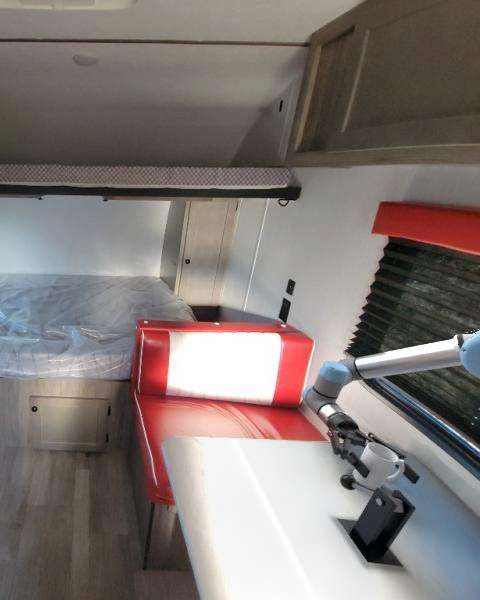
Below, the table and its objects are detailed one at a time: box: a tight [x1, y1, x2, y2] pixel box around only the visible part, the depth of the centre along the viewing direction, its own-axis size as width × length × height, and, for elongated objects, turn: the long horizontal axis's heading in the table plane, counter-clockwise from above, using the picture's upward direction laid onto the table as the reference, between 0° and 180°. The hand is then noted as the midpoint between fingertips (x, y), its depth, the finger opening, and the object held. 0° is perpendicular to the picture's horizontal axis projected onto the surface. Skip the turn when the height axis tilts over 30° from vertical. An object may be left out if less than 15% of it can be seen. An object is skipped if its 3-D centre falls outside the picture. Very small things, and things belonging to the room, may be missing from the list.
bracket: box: [337, 487, 417, 568], centre depth 76 cm, size 10×8×16 cm
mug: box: [352, 442, 406, 491], centre depth 93 cm, size 10×7×12 cm, turn 73°
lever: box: [339, 474, 403, 513], centre depth 80 cm, size 15×4×4 cm, turn 178°
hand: (391, 477), depth 90 cm, fingers open, 13 cm apart
